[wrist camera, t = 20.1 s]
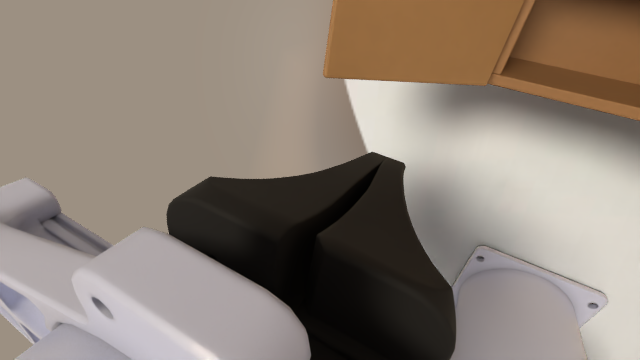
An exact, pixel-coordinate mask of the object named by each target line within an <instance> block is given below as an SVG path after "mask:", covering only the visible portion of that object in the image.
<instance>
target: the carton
mask: <svg viewBox="0 0 640 360" xmlns="http://www.w3.org/2000/svg"><path fill="white" fill-rule="evenodd" d="M487 84H491V85H495V86H499V87H504V88H508V89H512V90H516V91H520V92H524V93H528V94H532V95H536V96H540V97H544V98H548V99H552V100H556V101H561V102H565V103H569V104H573V105H577V106H581V107H585V108H589V109H593V110H597V111H601V112H605V113H609V114H614V115H618V116H622V117H626V118H630V119H634V120H638V121H640V0H524V2H523V5H522V7H521V9H520V11H519V14H518V16H517V18H516V20H515V22H514V25H513V27H512V29H511V31H510V34H509V36H508V38H507V40H506V42H505V45H504V47H503V49H502V51H501V54H500V56H499V58H498V60H497V62H496V65H495V67H494V69H493V71H492V73H491V76H490V78H489V80H488V82H487Z"/></svg>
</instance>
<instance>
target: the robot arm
mask: <svg viewBox="0 0 640 360" xmlns="http://www.w3.org/2000/svg"><path fill="white" fill-rule="evenodd" d="M405 167H406V166H405V164H404V163H403V162H400V161H397V160H394V159H391V158H389V157H386V156H383V155H380V154H377V153H375V152H371V153H368V154H366V155H363V156H361V157H359V158H356V159H354V160H351V161H349V162H346V163H344V164H341V165H338V166H335V167H332V168H329V169H325V170H323V171H318V172H314V173H310V174H305V175H299V176H293V177H283V178H274V179H235V178H220V177H209V178H207V179H205V180H204V181H202V182H201V183H199V184H197V185H196V186H194V187H192V188H191V189H189V190H188V191H186V192H184V193H183V194H181V195H179V196H178V197H176V198H175V199H173V201H172V202H171V203H170V204H169V207H168V210H167V225H168V230H169V234H168V233H164V232H161V231H158V230H155V229H152V228H147V227H142V228H141V229H139V230H137V231H136V232H134V233H133V234H131V235H129V236H128V237H126V238H125V239H123V240H122V241H120V242H118V243H117V244H116V245H112V244H111V243H109V242H107V241H106V240H104V239H102V238H101V237H99V236H98V235H96V234H94V233H93V232H91V231H90V230H88V229H86V228H85V227H83V226H82V225H80V224H79V223H77V222H75V221H74V220H72V219H71V218H69V217H67V216H66V215H64V214H63V213H61V208H60V205H59V203H58V201H57V199H56V197H55V196H54V195H53V194H52V193H51V192H50V191H49V190H48V189H46V188H45V187H43V186H41V185H40V184H38V183H37V182H35V181H33V180H32V179H30V178H23V179H20V180H18V181H15V182H12V183H10V184H7V185H4V186H2V187H0V314H1V315H3V316H4V317H5V318H6V319H7V320H8V321H9V322H10V323H11V324H12V325H13V326H14V327H15V328H16V329H17V330H19V331H20V332H21V333H22V334H23V335H24V336H25V337H26V338H27V339H28V340H29V341H30V342H31V343H32V344H33V346H31V347H30V348H29V349H27V350H26V351H25V352H23V353H22V354H21V355H19V356H18V357H17V358H16V359H14V360H588V359H587V356H586V352H585V348H584V344H583V341H582V337H581V333H580V329H579V328H581V327H582V326H583V325H584V324H585V323H586V322H587V321H589V320H590V319H591V318H592V317H593V316H594V315H596V314H597V313H598V312H599V311H600V310H601V309H602V308H604V307H605V306H606V305H607V304H608V299H607V296H606V295H605V294H603V293H601V292H599V291H597V290H594V289H592V288H589V287H587V286H584V285H582V284H579V283H577V282H574V281H572V280H569V279H567V278H564V277H562V276H559V275H557V274H554V273H552V272H549V271H547V270H544V269H542V268H539V267H537V266H534V265H532V264H529V263H527V262H524V261H522V260H519V259H517V258H514V257H512V256H509V255H507V254H504V253H502V252H499V251H497V250H494V249H492V248H489V247H487V246H478V247H477V248H476V249H475V251H474V252H473V254H472V256H471V257H470V259H469V260H468V262H467V264H466V265H465V267H464V268H463V270H462V272H461V273H460V275H459V276H458V278H457V280H456V281H455V283H454V285H453V286H452V288H451V286H450V285H449V284H448V283H447V281H446V280H445V279H444V277H443V276H442V275H441V274H440V272H439V271H438V270H437V269H436V267H435V266H434V265H433V263H432V262H431V260H430V259H429V257H428V255H427V254H426V252H425V251H424V249H423V247H422V245H421V243H420V241H419V239H418V237H417V235H416V233H415V231H414V228H413V226H412V223H411V220H410V217H409V214H408V210H407V206H406V201H405V195H404V185H403V175H404V170H405ZM477 256H482V257H483V258H478V257H477ZM589 303H596V304H589Z"/></svg>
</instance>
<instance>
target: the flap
mask: <svg viewBox="0 0 640 360" xmlns="http://www.w3.org/2000/svg"><path fill="white" fill-rule="evenodd" d="M523 2H524V0H333V6H332V13H331V20H330V27H329V34H328V41H327V48H326V55H325V64H324V70H323V75H324V76H325V77H326V78H341V79H361V80H381V81H400V82H420V83H440V84H460V85H480V86H486V85H487V82H488V80H489V78H490V76H491V73H492V71H493V69H494V67H495V65H496V62H497V60H498V58H499V56H500V54H501V51H502V49H503V47H504V45H505V42H506V40H507V38H508V36H509V34H510V31H511V29H512V27H513V25H514V22H515V20H516V18H517V16H518V14H519V11H520V9H521V7H522V5H523Z"/></svg>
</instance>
